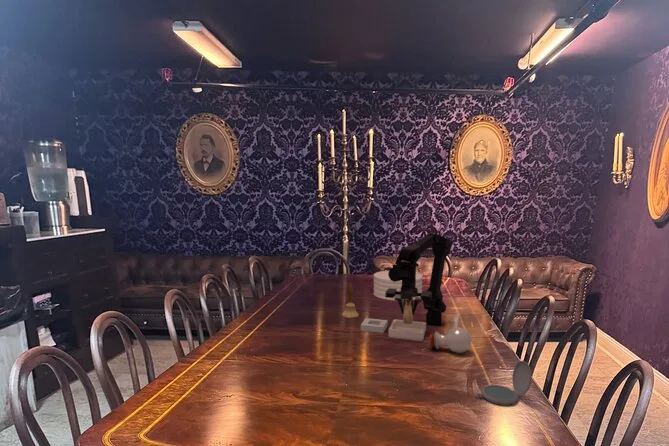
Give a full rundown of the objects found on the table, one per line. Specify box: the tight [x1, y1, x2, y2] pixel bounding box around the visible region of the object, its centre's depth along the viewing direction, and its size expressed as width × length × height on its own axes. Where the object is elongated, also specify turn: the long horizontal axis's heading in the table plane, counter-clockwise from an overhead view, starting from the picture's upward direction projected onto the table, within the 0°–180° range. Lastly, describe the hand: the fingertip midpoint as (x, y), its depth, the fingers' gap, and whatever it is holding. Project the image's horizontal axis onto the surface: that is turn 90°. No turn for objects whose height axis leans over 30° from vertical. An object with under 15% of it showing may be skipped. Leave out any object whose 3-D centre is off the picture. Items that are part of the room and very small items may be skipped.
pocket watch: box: [474, 360, 533, 406], centre depth 122 cm, size 10×11×15 cm
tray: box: [388, 319, 427, 342], centre depth 176 cm, size 14×14×4 cm
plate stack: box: [373, 270, 423, 302], centre depth 243 cm, size 28×28×12 cm
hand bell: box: [341, 282, 359, 319], centre depth 202 cm, size 8×8×16 cm
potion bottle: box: [429, 326, 472, 354], centre depth 158 cm, size 9×10×15 cm
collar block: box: [360, 317, 388, 334], centre depth 184 cm, size 10×10×2 cm
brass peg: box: [402, 299, 414, 324], centre depth 176 cm, size 4×4×10 cm
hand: (408, 314), depth 176 cm, fingers closed on brass peg, 4 cm apart
